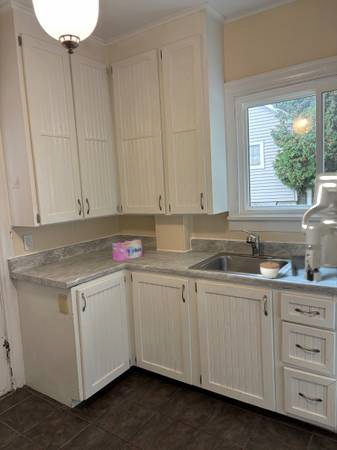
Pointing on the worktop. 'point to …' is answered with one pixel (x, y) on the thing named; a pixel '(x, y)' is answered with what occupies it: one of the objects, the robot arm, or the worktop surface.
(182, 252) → the worktop surface
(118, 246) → the gum box
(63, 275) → the worktop surface
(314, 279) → the lock block
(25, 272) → the worktop surface
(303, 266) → the coupler socket
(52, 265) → the worktop surface
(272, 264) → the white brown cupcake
